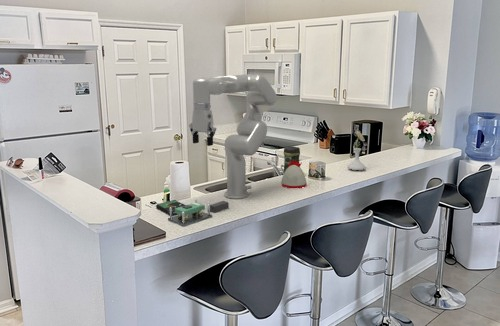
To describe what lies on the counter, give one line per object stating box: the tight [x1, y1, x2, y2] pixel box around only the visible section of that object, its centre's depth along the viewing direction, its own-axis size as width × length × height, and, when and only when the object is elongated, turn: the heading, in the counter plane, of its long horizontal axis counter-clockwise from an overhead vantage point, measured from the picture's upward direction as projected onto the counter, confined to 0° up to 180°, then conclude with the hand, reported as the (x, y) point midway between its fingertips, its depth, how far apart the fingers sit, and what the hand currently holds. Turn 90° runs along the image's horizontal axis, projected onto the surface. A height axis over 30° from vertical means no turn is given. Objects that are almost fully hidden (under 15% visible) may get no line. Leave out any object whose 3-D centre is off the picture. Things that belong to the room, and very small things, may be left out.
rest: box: [210, 200, 230, 214], centre depth 204 cm, size 9×4×3 cm, turn 138°
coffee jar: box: [282, 145, 301, 176], centre depth 263 cm, size 10×8×19 cm
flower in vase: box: [347, 130, 367, 171], centre depth 281 cm, size 13×11×25 cm
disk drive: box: [155, 199, 186, 217], centre depth 204 cm, size 10×3×15 cm
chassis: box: [167, 199, 213, 227], centre depth 191 cm, size 16×11×6 cm
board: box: [175, 201, 206, 216], centre depth 191 cm, size 12×6×3 cm, turn 138°
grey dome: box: [281, 159, 307, 189], centre depth 244 cm, size 14×14×15 cm
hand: (202, 144), depth 201 cm, fingers open, 9 cm apart
